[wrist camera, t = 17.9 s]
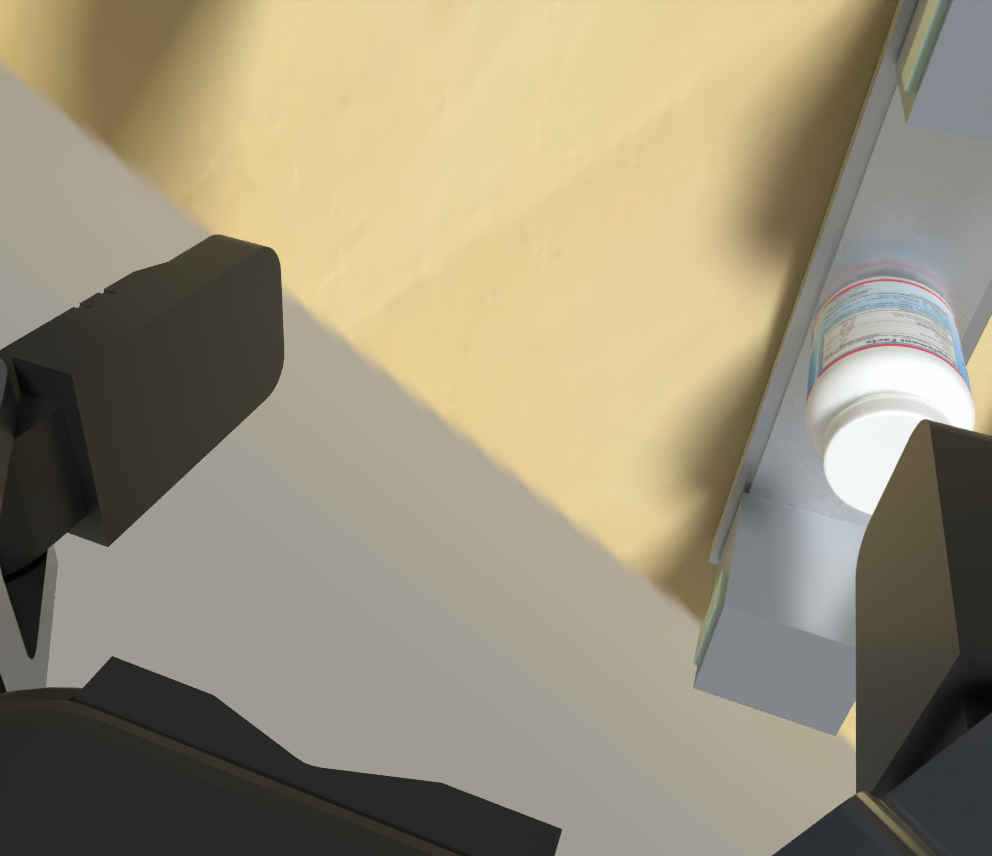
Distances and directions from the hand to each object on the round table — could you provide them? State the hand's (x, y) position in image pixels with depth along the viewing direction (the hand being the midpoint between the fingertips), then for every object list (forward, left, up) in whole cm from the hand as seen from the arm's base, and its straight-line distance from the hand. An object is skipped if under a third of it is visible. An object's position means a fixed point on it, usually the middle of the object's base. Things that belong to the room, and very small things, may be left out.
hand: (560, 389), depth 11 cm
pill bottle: (+9, -12, -31) cm, 34 cm away
